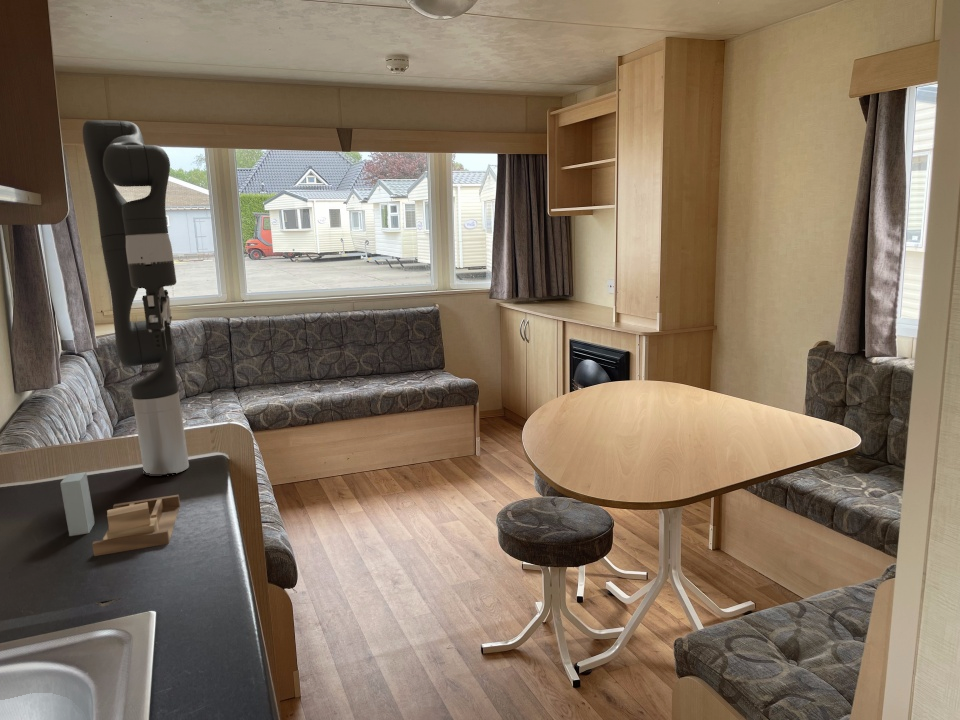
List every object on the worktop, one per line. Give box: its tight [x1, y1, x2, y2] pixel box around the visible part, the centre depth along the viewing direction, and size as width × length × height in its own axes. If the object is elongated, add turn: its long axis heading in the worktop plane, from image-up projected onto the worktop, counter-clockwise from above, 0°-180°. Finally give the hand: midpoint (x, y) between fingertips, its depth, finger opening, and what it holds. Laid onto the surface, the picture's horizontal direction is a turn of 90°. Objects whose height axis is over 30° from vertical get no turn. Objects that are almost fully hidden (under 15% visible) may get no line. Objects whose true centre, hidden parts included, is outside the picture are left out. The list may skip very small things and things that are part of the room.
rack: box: [91, 494, 181, 557], centre depth 123 cm, size 18×11×3 cm, turn 17°
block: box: [60, 471, 95, 537], centre depth 123 cm, size 4×3×10 cm, turn 17°
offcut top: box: [106, 502, 151, 533], centre depth 116 cm, size 3×6×3 cm, turn 117°
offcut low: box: [106, 517, 159, 539], centre depth 117 cm, size 4×7×3 cm, turn 107°
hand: (163, 349), depth 131 cm, fingers open, 8 cm apart
